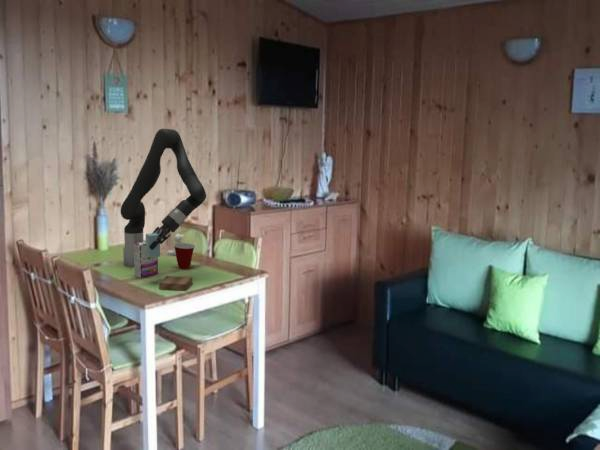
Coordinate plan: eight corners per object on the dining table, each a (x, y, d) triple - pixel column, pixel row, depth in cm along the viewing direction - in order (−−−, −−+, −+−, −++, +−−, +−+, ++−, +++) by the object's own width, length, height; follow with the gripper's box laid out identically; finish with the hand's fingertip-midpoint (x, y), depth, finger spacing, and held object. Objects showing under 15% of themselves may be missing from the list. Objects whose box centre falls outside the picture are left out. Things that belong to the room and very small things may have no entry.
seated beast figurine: (179, 251, 340) (178, 231, 338) (189, 254, 335) (189, 233, 333) (166, 254, 333) (166, 233, 330) (177, 257, 328) (176, 235, 326)
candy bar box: (151, 272, 295) (150, 239, 292) (158, 274, 292) (158, 240, 289) (133, 277, 286) (133, 243, 283) (141, 278, 283) (140, 244, 280)
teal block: (149, 257, 272) (149, 235, 270) (145, 255, 276) (145, 233, 275) (159, 256, 275) (159, 235, 273) (156, 254, 279) (156, 233, 277)
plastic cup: (190, 271, 299) (190, 247, 297) (170, 269, 302) (170, 245, 299) (198, 265, 310) (198, 243, 308) (178, 264, 312) (178, 241, 310)
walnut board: (159, 289, 267) (159, 283, 266) (166, 282, 278) (166, 276, 278) (185, 290, 266) (185, 284, 265) (192, 283, 278) (192, 277, 277)
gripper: (163, 212, 282) (138, 239, 278) (173, 217, 270) (147, 245, 266) (174, 222, 286) (149, 249, 282) (185, 227, 274) (159, 256, 270)
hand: (148, 247), depth 274 cm, fingers closed on teal block, 5 cm apart
